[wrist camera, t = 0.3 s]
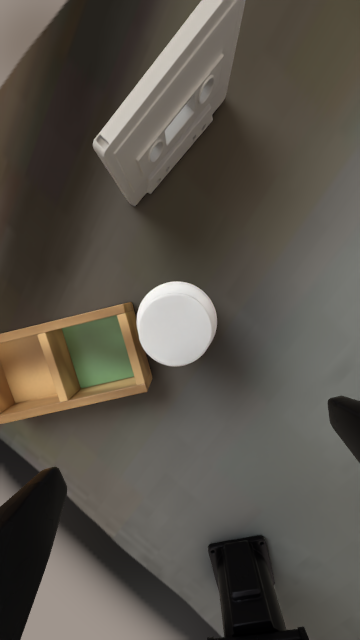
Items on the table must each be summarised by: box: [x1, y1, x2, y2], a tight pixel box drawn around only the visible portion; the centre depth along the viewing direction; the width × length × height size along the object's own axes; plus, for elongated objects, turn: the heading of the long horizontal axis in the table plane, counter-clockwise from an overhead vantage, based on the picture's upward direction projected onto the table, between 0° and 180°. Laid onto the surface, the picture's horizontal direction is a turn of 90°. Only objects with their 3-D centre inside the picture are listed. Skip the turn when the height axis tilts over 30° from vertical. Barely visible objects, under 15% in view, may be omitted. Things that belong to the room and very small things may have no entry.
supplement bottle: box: [137, 281, 217, 366], centre depth 16 cm, size 5×5×10 cm
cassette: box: [93, 0, 245, 206], centre depth 15 cm, size 12×2×8 cm, turn 137°
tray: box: [0, 302, 152, 424], centre depth 20 cm, size 8×15×3 cm, turn 104°
